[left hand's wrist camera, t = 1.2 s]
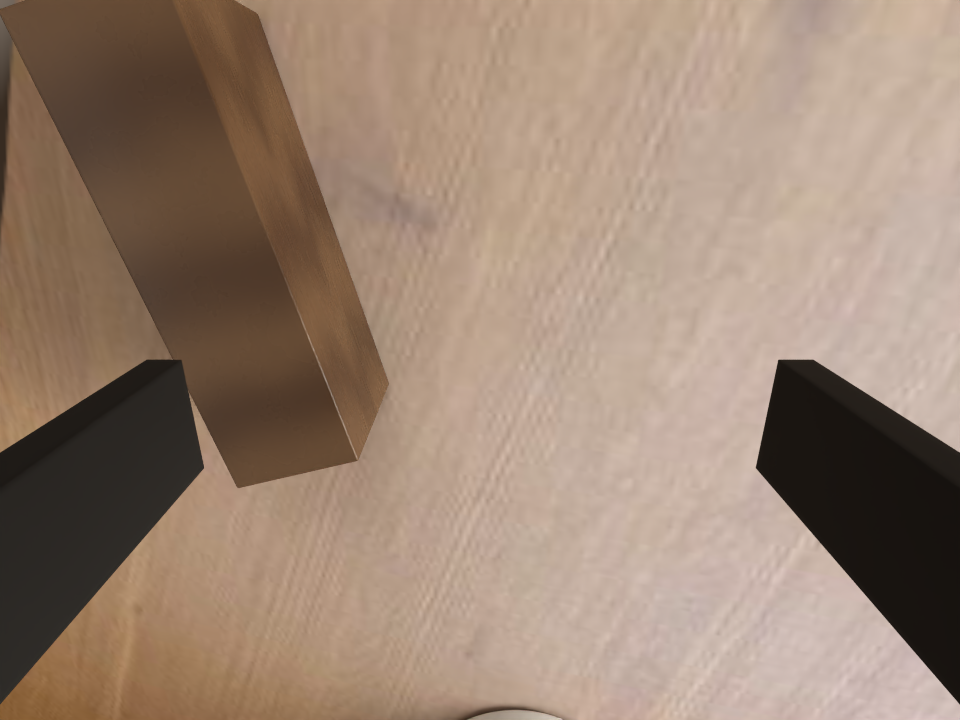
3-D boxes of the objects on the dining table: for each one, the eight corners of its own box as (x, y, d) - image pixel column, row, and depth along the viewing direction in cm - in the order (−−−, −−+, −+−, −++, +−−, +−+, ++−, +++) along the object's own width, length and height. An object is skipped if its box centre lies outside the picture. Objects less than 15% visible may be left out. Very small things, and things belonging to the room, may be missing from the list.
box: (143, 49, 28) (-4, 9, 19) (257, 12, 27) (156, -46, 19) (296, 406, 35) (237, 489, 26) (389, 383, 34) (358, 461, 26)
